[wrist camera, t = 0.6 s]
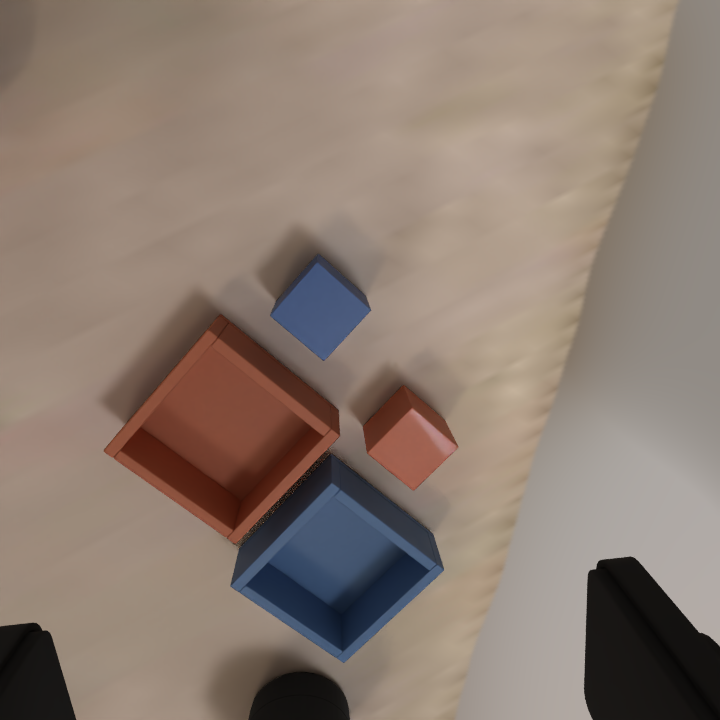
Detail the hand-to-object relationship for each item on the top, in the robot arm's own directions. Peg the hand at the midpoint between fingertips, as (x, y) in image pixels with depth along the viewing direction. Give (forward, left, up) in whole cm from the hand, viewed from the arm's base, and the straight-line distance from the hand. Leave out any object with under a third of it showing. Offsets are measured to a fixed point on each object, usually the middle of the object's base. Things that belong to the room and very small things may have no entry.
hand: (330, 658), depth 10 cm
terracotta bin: (+1, -11, -31) cm, 33 cm away
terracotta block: (+11, -3, -31) cm, 33 cm away
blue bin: (+14, -14, -31) cm, 37 cm away
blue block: (0, 0, -31) cm, 31 cm away
